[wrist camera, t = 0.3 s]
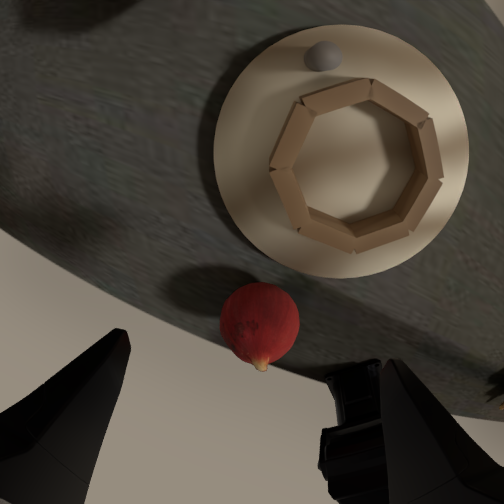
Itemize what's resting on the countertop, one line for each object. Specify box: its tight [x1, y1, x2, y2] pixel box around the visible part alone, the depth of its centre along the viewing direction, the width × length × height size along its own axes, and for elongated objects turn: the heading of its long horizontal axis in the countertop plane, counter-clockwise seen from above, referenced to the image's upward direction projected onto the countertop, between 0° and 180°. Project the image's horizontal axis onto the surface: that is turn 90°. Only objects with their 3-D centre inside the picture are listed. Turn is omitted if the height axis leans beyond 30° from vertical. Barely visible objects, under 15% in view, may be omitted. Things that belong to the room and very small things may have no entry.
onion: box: [220, 282, 300, 372], centre depth 22 cm, size 6×6×8 cm
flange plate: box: [214, 25, 469, 278], centre depth 17 cm, size 18×18×4 cm
